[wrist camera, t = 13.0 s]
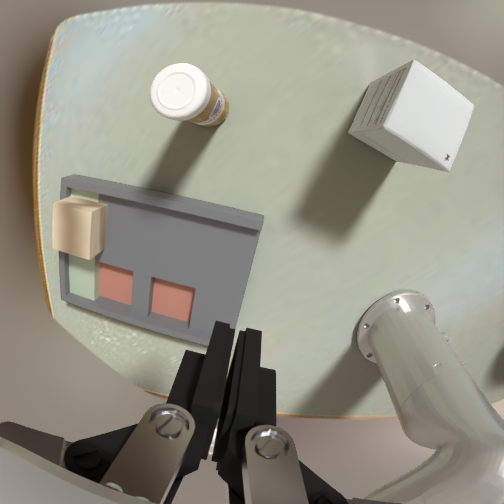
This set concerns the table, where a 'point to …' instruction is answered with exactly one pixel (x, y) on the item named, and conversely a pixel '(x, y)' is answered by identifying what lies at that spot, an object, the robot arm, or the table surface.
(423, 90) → the supplement box
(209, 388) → the robot arm
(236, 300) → the box
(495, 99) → the table surface
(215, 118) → the sprinkles bottle
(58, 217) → the maple block
